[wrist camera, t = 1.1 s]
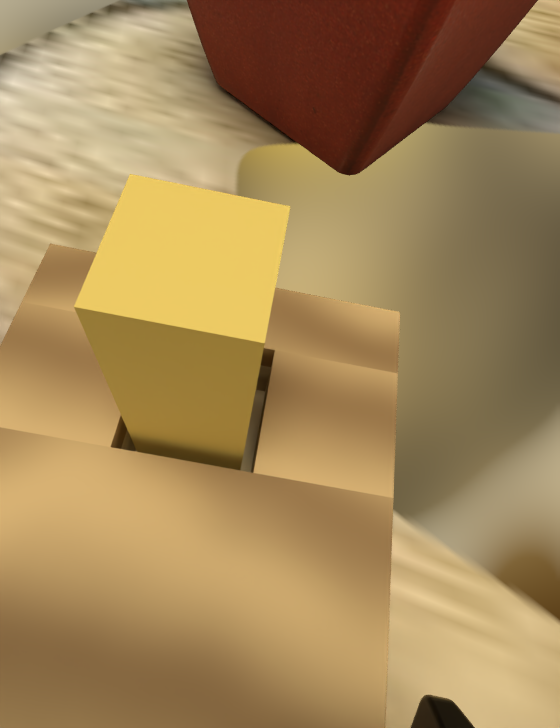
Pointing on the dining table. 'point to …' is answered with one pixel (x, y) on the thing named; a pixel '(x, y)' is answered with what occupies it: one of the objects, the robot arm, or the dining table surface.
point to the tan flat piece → (196, 532)
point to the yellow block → (184, 314)
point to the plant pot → (350, 64)
